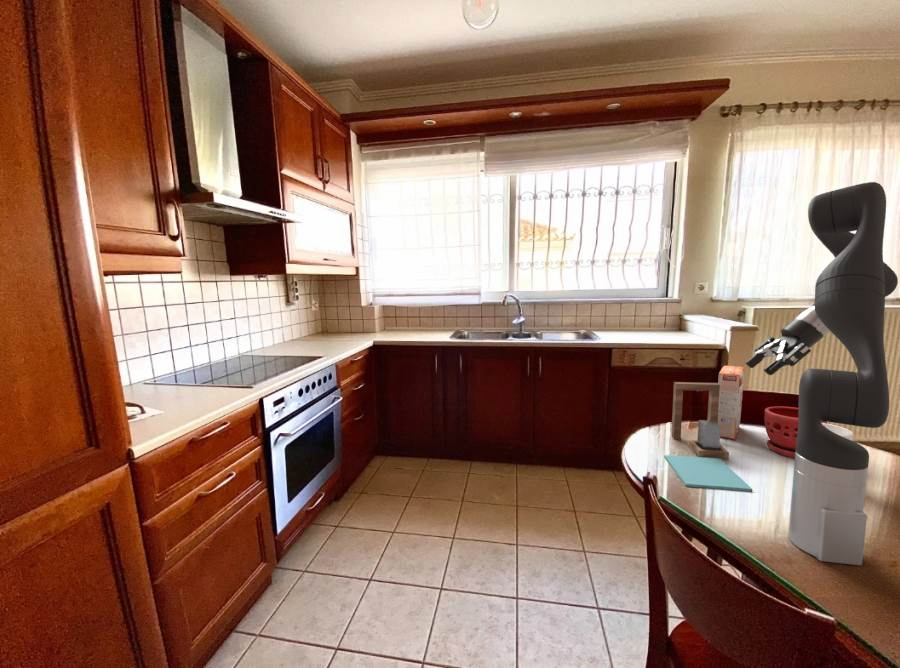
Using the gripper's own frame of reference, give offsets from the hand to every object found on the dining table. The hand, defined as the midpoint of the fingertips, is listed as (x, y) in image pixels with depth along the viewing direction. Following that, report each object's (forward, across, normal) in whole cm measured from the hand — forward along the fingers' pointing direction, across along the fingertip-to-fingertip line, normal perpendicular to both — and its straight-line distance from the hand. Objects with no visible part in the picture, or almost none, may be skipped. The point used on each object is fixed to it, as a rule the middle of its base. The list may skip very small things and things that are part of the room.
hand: (757, 369), depth 104 cm
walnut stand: (+25, -4, +10) cm, 27 cm away
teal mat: (+30, +13, +5) cm, 33 cm away
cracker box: (+16, -18, +19) cm, 31 cm away
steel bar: (+26, 0, +10) cm, 27 cm away
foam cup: (+12, +12, +24) cm, 29 cm away
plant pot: (+10, -3, +26) cm, 28 cm away
